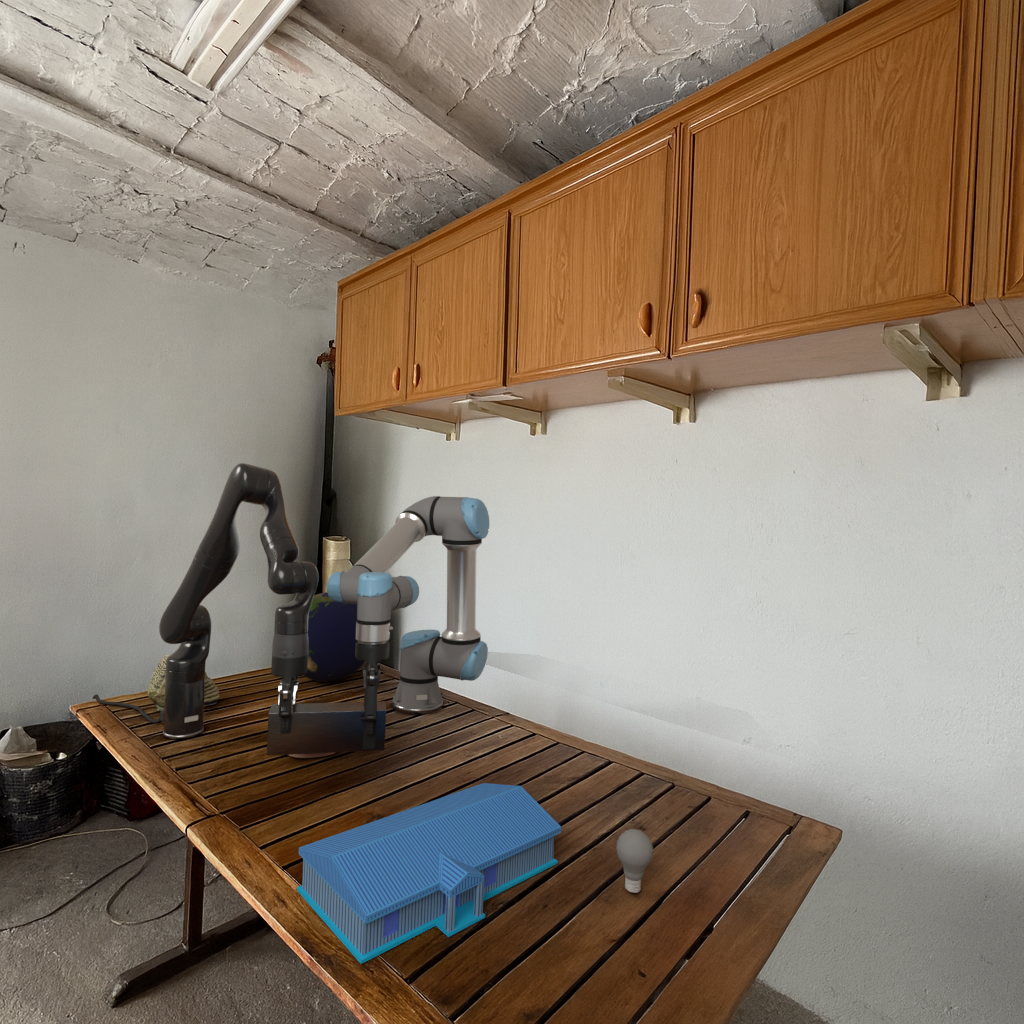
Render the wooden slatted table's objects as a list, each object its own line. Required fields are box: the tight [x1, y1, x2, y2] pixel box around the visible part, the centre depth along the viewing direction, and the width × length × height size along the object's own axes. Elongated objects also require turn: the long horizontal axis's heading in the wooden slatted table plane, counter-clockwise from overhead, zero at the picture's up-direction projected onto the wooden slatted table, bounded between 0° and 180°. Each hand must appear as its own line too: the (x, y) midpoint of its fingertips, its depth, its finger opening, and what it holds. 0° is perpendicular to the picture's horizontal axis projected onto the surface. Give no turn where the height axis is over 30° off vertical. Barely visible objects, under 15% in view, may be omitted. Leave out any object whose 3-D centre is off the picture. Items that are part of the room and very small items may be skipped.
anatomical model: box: [288, 753, 335, 759], centre depth 157 cm, size 13×4×12 cm
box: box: [266, 700, 387, 756], centre depth 141 cm, size 25×6×9 cm, turn 104°
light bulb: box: [615, 828, 654, 894], centre depth 106 cm, size 6×6×10 cm
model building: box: [296, 782, 562, 965], centre depth 106 cm, size 39×24×10 cm, turn 132°
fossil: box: [147, 654, 221, 712], centre depth 185 cm, size 9×18×15 cm, turn 132°
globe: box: [303, 591, 366, 683], centre depth 216 cm, size 30×30×30 cm
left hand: (287, 727), depth 139 cm, fingers closed on box, 6 cm apart
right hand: (368, 742), depth 144 cm, fingers closed on box, 6 cm apart
